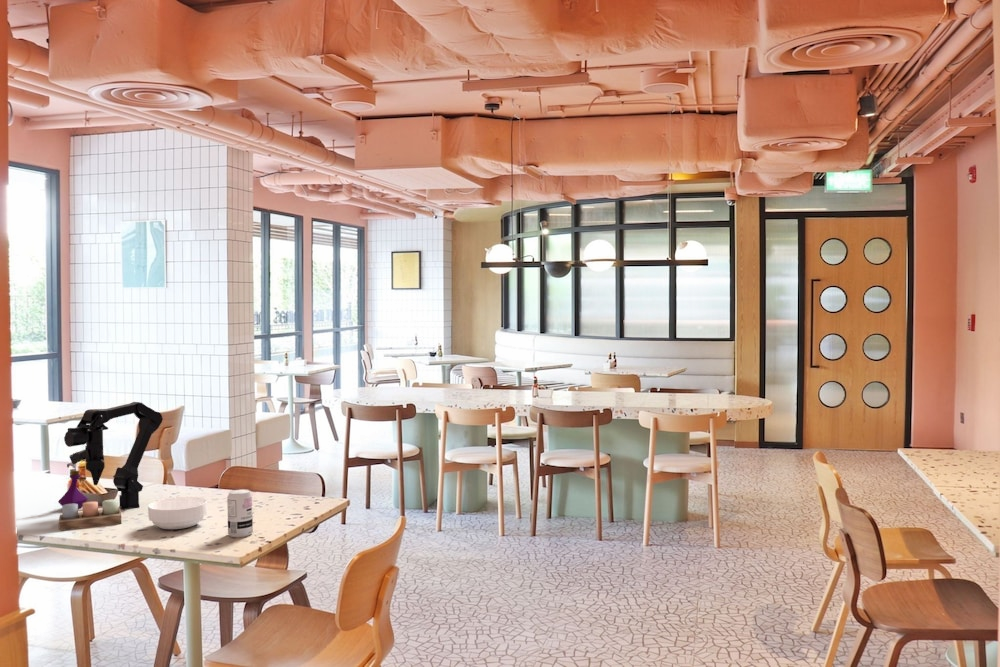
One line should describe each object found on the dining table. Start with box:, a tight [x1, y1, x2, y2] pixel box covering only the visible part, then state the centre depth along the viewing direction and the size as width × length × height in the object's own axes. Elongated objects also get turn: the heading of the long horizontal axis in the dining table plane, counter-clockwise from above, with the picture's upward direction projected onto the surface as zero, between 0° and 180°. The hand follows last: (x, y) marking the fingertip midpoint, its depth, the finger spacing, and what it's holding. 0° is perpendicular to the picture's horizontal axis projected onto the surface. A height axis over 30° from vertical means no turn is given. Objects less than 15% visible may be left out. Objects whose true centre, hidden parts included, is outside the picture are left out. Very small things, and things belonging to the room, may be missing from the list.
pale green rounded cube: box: [101, 498, 119, 515], centre depth 297 cm, size 5×5×5 cm
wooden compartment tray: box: [58, 507, 122, 531], centre depth 294 cm, size 20×12×3 cm, turn 117°
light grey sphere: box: [61, 503, 79, 520], centre depth 291 cm, size 5×5×5 cm
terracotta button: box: [82, 500, 99, 517], centre depth 294 cm, size 5×5×5 cm
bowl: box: [147, 496, 208, 530], centre depth 289 cm, size 20×20×8 cm
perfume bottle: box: [58, 462, 89, 509], centre depth 316 cm, size 8×8×18 cm
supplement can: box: [226, 488, 254, 538], centre depth 278 cm, size 8×8×15 cm
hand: (95, 483), depth 306 cm, fingers open, 5 cm apart
